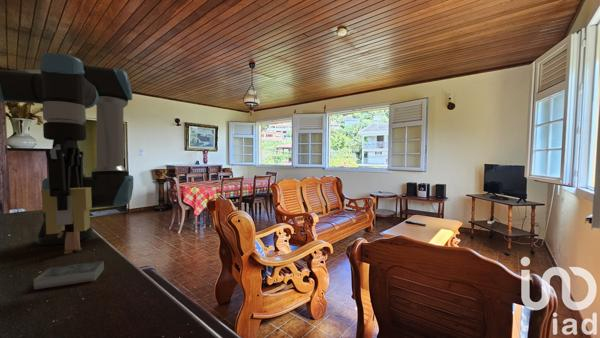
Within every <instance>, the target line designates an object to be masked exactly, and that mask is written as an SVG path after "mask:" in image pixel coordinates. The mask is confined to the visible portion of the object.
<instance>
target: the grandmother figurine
mask: <svg viewBox="0 0 600 338" xmlns="http://www.w3.org/2000/svg"><path fill="white" fill-rule="evenodd" d="M65 231H66V238H65V243H64V252H63V254H64V255H68V254H72V253H73V252H79V251H82V250H83V249H82V247H81V240H80V231H78V232H74V221H73V224H65V230H63V231H61V232H59V235H58V236H57V237H58V238H61V237H62V235H63V233H64V232H65ZM85 231H87V230H85Z"/></svg>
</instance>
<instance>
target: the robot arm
mask: <svg viewBox="0 0 600 338" xmlns="http://www.w3.org/2000/svg"><path fill="white" fill-rule="evenodd" d="M132 100H133V91H132V87H131V81H130V77H129V75H128V73H127V72H126V71H125V70H124V69H119V68H115V67H104V66H94V65H85V64H84V62H83V61H82V60H81V59H79V57H78V58H77V57H76V56H73V55H70V54H67V53H66V54H65V53H61V52H45V53H43V54H41V56H40V67H39V69H18V70H17V69H15V70H14V69H13V70H11V69H9V70H7V69H0V102H1V103H6V102H7V103H24V104H25V103H26V104H40V105H41V104H42V107H40V109H39V110H40V112H42V120H44V121H45V122H44V123H42V128H43V130H42V131H43V132H42V133H43V138H44V139H46V140H50V141H53V142H52V146H51V148H47V149H45V157H46V160H47V170H48V171H47V172H48V173H47V174H48V177H46V178H44V179H43V180H42V182H41V191H40V193H42V190H47V189H50V197H56V219H57V225H65V224H73V221H74V219H73V210H72V196H69V195H70V188H85V187H91V199H92V207H91V208H90V209H94V208H95V209H97V208H98V209H99V208H115V207H121V206H126V205H129V203H130V202H131V200H132V196H133V191H134V176H133V175H131V174H129V170H128V169H127V168H126V167H125V154H124V153H125V146H124V145H125V138H124V136H125V135H124V134H125V131H124V129H125V126H124V123H125V122H124V121H125V120H124V108H126V107H127V106H128V105H129V101H132ZM94 106H96V167H95V168H94V169H92V170H91V176H86V175H85V173H84V168H83V165H84V164H83V160H84V159H83V158H84V151H82V150H81V151H80V148H79V145H78V141H80V142H82V141H86V140H87V126H86V125H85V123H86V122H87V115H86V110H87V109H91V108H93V107H94ZM58 235H59V233H56V234H46V212H44V213H43V212H42V223H41V225H40V227H39V231H38V233H37V235H36V244H38V245H40V246H52V245H53V246H54V245H55V246H56V245H62V244H64V245H65V238H66V231H65V232H64V233H63V235H62V237H61V238H58V237H57V236H58ZM93 235H94V230H93V226H92V224H91V223H90V228H88V229H87V231H80V241H82V240H85V239H88V238H91V237H92V236H93Z"/></svg>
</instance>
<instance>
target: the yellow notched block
mask: <svg viewBox="0 0 600 338" xmlns="http://www.w3.org/2000/svg"><path fill="white" fill-rule="evenodd" d="M41 191H42V192H41V202H42V203H41V206H42V214H43V213H44V212H46V234H56V233H59V232H61V231H63V230H65V225H57V219H56V197H50V189H47V190H42V189H41ZM69 196H72V210H73V219H74V232H78V231H85V230H87V229H88V228H90V224H91V221H90V216H91V215H90V214H91V213H90V209H92V208H91V207H92V199H91V187H85V188H70V195H69Z"/></svg>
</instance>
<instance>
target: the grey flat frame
mask: <svg viewBox="0 0 600 338" xmlns="http://www.w3.org/2000/svg"><path fill="white" fill-rule="evenodd" d="M104 269H105V261H104V260H100V261H92V262H83V263H75V264H68V265H59V266H51V267H48V268H47V269H46V270H44V271H43V272H42V273H41V274H39V275H38V276H37V277H35V278H34V279H33V290H40V289H46V288H53V287H60V286H67V285H73V284H81V283H87V282H94V281H96V280H97V278H98V277H99V276H100V275H101V273H102V272H103V271H104Z"/></svg>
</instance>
